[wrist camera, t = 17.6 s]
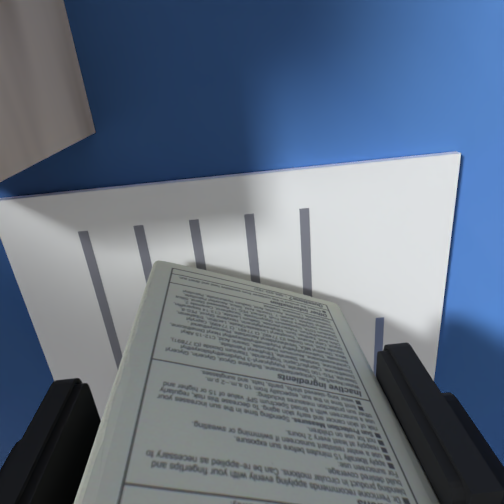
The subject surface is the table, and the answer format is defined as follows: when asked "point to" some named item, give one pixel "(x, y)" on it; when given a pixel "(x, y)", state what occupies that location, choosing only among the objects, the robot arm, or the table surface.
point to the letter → (238, 252)
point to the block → (38, 85)
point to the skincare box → (246, 404)
